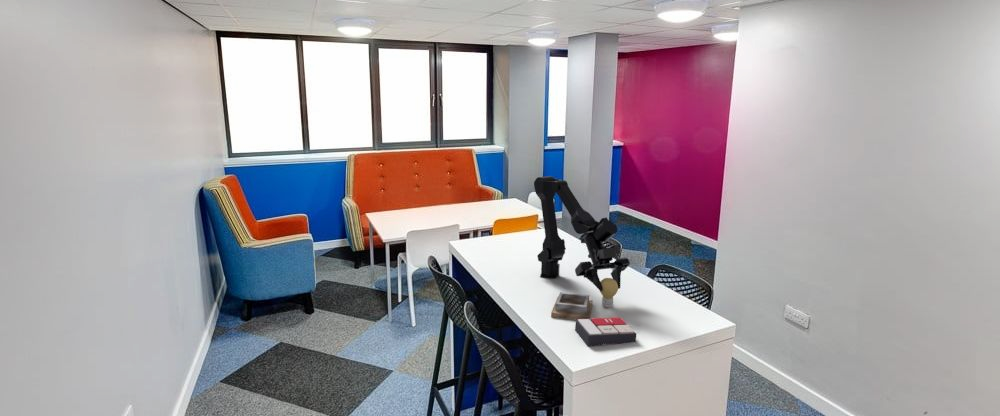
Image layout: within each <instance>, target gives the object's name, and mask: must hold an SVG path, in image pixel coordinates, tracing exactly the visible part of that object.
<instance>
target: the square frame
mask: <svg viewBox="0 0 1000 416" xmlns="http://www.w3.org/2000/svg"><path fill="white" fill-rule="evenodd" d="M593 302H594V301H593V300H591V299H590V295H589V294H580V293H579V294H578V293H572V292H565V291H563V292H562V291H560V292H559V294H558V296H557V297H556V300H555V303H554V305H553V306H552V310H551V312H550V318H556V319H557V318H558V319H563V320H564V319H565V320H574V321H576V320H578V319H590V315H591V312H592V308H593Z"/></svg>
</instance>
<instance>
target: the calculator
mask: <svg viewBox="0 0 1000 416" xmlns="http://www.w3.org/2000/svg"><path fill="white" fill-rule="evenodd" d="M574 325H575V326H574V331H575V333H576V334H577V335H578V336H579V338H581V339H580V340H582V342H583V343H584V344H585V345H586V347H588V348H590V347H602V346H603V345H604V346H605V345H619V344H620V345H622V344H631V343H636V340H637V333H636V332H635V330H634V329H633V328H632V327H631V326H630V325H628V324H627V322H626V321H625V320H624V319H622V318H621V317H597V318H596V317H594V318H593V317H591V318H589V319H578V320H575V324H574Z"/></svg>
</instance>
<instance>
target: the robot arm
mask: <svg viewBox="0 0 1000 416" xmlns="http://www.w3.org/2000/svg"><path fill="white" fill-rule="evenodd" d="M533 187H534V190H535V194H536V196H537V197H538V199H539V201H540V205H541V212H542V213H541V214H542V218H543V219H542V220H543V226H544V227H543V229H544V236H545V237H544V239H543V242H542V250H541V251H540V252H539V254H538V255H537V261H538V262H540V263H541V268H540V269H541V272H540V275H539V277H540V278H546V279H558V276H559V275H560V270H561V269H560V268H561V267H560V266H561V265H560V263H559V261H562V260H563V258H564V255H565V254H566V250H567V248H566V244H565V242H566V241H565V239H564V238H561V237H560V235H559V231H558V222H557V216H556V207H555V201H554V200H555V199H554V198H555V195H557V196H558V197H559V199H560V201H561V202H562V204H563V205H564V207H565V209H566V210H567V212H568V214H569V215H570V224H571V225H572V227H573V230H574V231H575V233H576V234H578V235H583V234H585V235H583V236H582V237H581V240H580V243H581V244H585V245H586V248H587V252H588V255H587V257H588V259H590V260H591V261H590V260H589V261H581V262H579V264H578V265H577V266H576V267H575V270H574V271H575V272H574V273H575V275H576V276H577V277H583V278H586V279H587V280H588V281H590V282H591V283H592V284H593V285H594V286H595V287H596V289H598V290H599V292H600V291H602V290H603V289H602V285H601V280H600V277H599V275H598V270H605V269H609V270H610V269H611V272H610V276H611V278H612V279H614V280H615V281H616V282H617V284H618V290H619V289H621V278H622V277H621V276H622V275H621V273H622V272H624V271H625V270H626V269H627V268H628V267H629V266H630V265H631V261H630V259H629V258H628V257H618V256H619V255H621V247H619V245H618V244H617V245H616V244H615V245H612V246H611V247H610V248H608V247H607V246H605V245H604V243H606V242H608V241H609V240H610V239H611V238H612V237H614V236H615V234H617V233H618V227H617V225H616V224H615V223H614V222H613V221H611V220H610V219H608V217H602V218H601V219H599V221H598V220H596V218H594V217H593V216H592V215H591V213H590V212H588V211H587V210H585V209H584V208H583V207H582V206H581V204H580V203H579V201H578V200H577V198H576V196H575V195H574V194H573V192H572V190H571V189H570V187H569V183H568V182H567V181H566V180H564V179H563V180H562V179H560V178H554V177H553V176H552V175H548V176H538V177H536V178H535V180H534V181H533ZM614 258H616V259H615V261H613V259H614ZM611 261H612V262H611Z"/></svg>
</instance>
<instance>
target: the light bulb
mask: <svg viewBox="0 0 1000 416" xmlns="http://www.w3.org/2000/svg"><path fill="white" fill-rule="evenodd" d="M600 282H601V285H602V289H603V290H602V291H600V290H599V293H600V294H601V295H602V297H601V299H602V300H601V306H602V307H604V308H609V309H610V308H611V307H613V306H614V296H616V294H617V293H618V291H619V289H618V284H617V282H616V281H615V280H614V279H613V278H612V277H606V278H605V277H604V278H602V279H601V280H600Z"/></svg>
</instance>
